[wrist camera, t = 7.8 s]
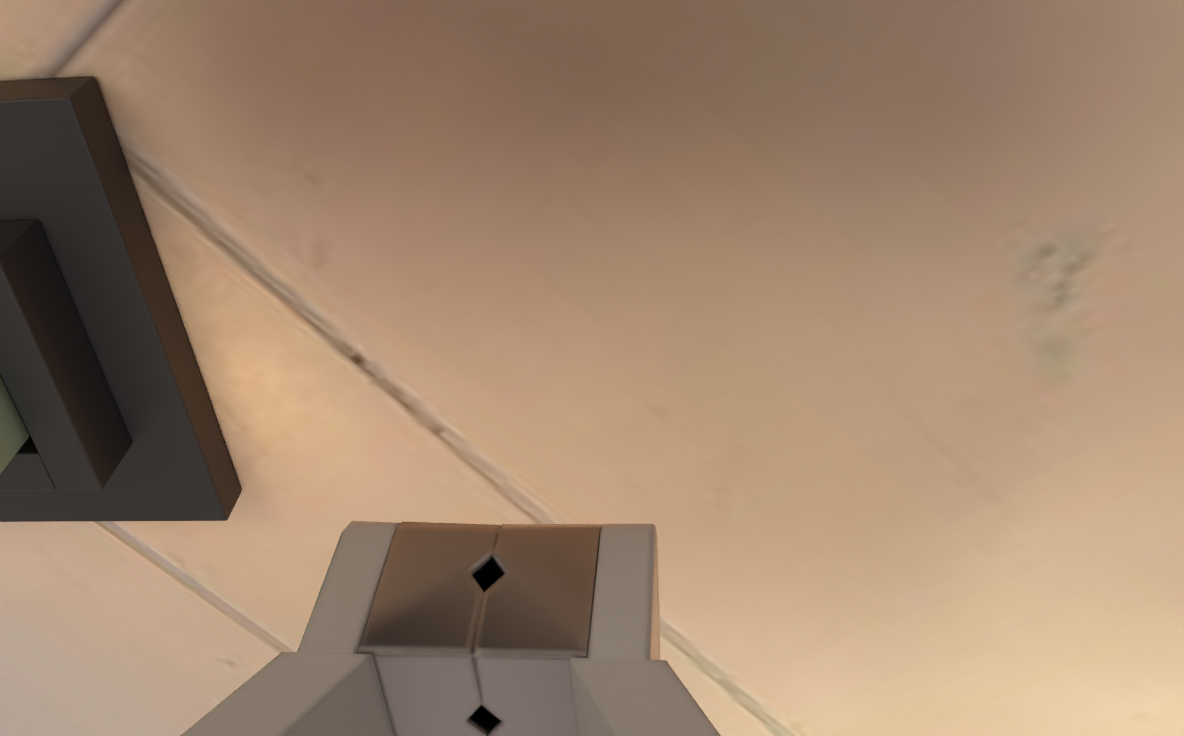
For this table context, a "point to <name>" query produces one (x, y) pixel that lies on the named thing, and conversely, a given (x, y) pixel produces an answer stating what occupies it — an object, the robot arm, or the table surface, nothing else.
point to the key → (10, 427)
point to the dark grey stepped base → (93, 330)
